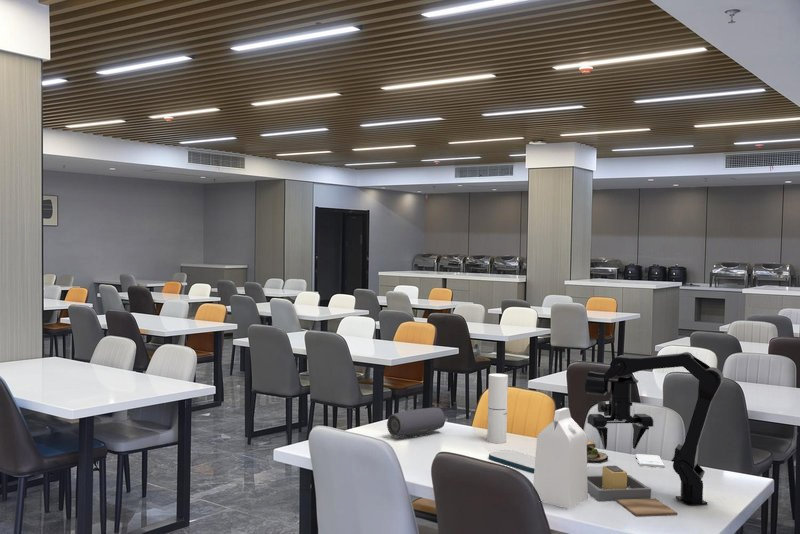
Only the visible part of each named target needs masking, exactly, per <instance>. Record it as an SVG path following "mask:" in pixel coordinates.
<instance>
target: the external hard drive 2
mask: <svg viewBox="0 0 800 534" xmlns="http://www.w3.org/2000/svg"><path fill="white" fill-rule="evenodd" d="M635 456H636V457H637V459H636V461H637V460H638V462H637V464H638V463H639V464H638V466H639V465H640V466H639V467H643V466H652V467H651V468H656V467H659V468H660V469H665V468H666V466H665V464H664V462H663V460H662V458H661V456H660V455H657V454H645V453H643V454H642V453H636V454H635V455H634V457H635ZM636 457H635V458H636ZM659 468H658V469H659Z"/></svg>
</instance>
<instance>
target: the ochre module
mask: <svg viewBox="0 0 800 534" xmlns="http://www.w3.org/2000/svg"><path fill="white" fill-rule="evenodd" d="M627 475H628V472H627V471H625V470H624V469H622V468H620V467H619V466H618V465H606V466H605V465H603V471H602V486H601V489H628V486H627Z"/></svg>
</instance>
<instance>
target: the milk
mask: <svg viewBox="0 0 800 534" xmlns="http://www.w3.org/2000/svg"><path fill="white" fill-rule="evenodd" d="M553 415H554V418H553V421H551V422H550V423H549V424H548V425H547V426H545V427H544V428H543V429H542V430H541V431H540V432H539V433H538V435H537V437H536V443H535V445H536V448H535V456H534V457H535V469H534V473H533V484H532V485H534V487H535V488H536V490H537V492H538V493H539V495H540V497H541V500H542V502H541V503H545V504H547V505H552V506H556V507H560V508H564V509H568V510H570V509H572V508H573V507H575V506H577V505H578V504H581V503H582V502H584V501H586V500H587V499H588V498H589V497H588V495H589V493H588V488H587V467H588V461H587V442H588V441H587V440H588V437H587V435H586V432H585V431H584V430H583V429H582V427H580V425H579V424H578V423H577V422H576V421H575V420H574V419H573V418H572V415H571V411H570V408H569V407H562V408H558V409H556V410H555V411H554V414H553Z"/></svg>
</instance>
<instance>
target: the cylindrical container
mask: <svg viewBox="0 0 800 534" xmlns="http://www.w3.org/2000/svg"><path fill="white" fill-rule="evenodd" d="M508 384H509V375H508V374H505V373H489V374H488V388H487V389H488V392H487V393H488V396H487V397H488V401H487V406H488V407H487V434H486V436H487V437H486V438H487V442H488V443H492V444H506V443H507V432H508V431H507V429H508V425H507V424H508V390H509V389H508Z"/></svg>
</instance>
